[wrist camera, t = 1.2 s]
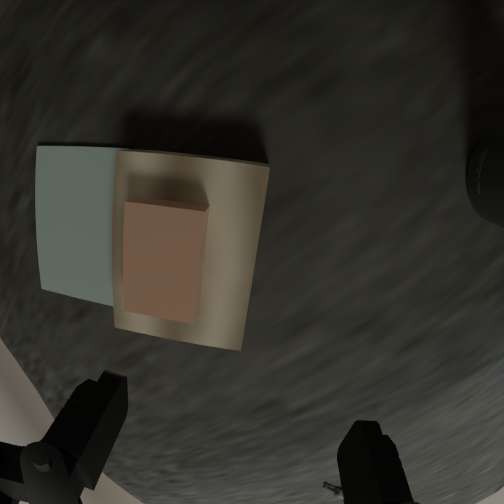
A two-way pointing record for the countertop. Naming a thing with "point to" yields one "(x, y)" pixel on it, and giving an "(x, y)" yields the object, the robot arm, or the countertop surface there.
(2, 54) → the countertop surface
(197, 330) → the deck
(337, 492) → the adjustable rod
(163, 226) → the tile
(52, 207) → the mat
